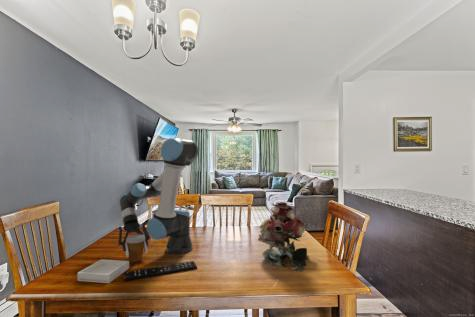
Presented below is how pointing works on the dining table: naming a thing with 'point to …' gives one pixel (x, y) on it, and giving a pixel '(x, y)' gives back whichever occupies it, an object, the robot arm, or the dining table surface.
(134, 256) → the disposable coffee cup
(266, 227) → the rose bouquet
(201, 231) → the dining table surface
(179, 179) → the robot arm
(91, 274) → the tray
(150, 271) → the remote control
